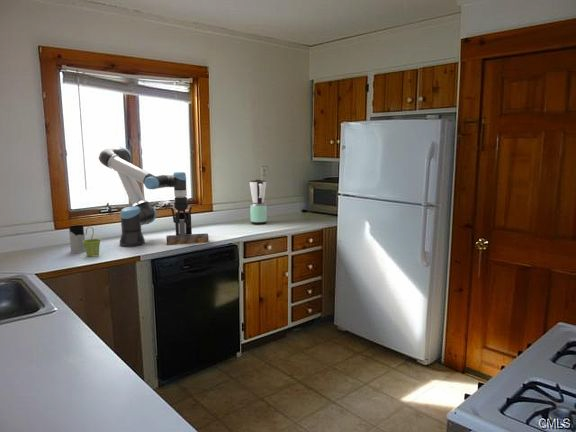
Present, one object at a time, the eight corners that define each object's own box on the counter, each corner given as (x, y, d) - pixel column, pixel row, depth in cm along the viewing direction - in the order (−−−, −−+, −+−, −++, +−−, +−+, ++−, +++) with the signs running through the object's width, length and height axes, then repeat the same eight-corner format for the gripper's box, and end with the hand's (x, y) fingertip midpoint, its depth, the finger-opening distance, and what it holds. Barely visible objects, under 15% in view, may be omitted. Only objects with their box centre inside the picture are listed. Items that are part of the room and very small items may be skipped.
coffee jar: (187, 238, 294) (186, 211, 292) (173, 237, 297) (171, 211, 294) (194, 235, 305) (193, 209, 302) (180, 234, 307) (178, 209, 304)
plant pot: (94, 258, 242) (93, 242, 241) (80, 257, 245) (78, 241, 244) (105, 254, 251) (104, 239, 250) (91, 253, 254) (90, 238, 252)
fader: (180, 238, 277) (179, 220, 276) (180, 236, 282) (179, 219, 281) (185, 238, 278) (184, 220, 276) (185, 236, 283) (184, 219, 281)
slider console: (166, 245, 274) (166, 238, 273) (166, 242, 283) (166, 235, 282) (208, 242, 280) (208, 235, 279) (207, 239, 289) (207, 233, 288)
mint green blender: (247, 222, 356) (246, 179, 350) (263, 221, 360) (262, 178, 355) (254, 226, 338) (253, 180, 333) (270, 225, 343) (270, 180, 337)
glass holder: (67, 251, 258) (65, 226, 256) (91, 247, 269) (89, 223, 266) (73, 253, 252) (71, 228, 250) (98, 249, 263) (96, 225, 261)
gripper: (167, 197, 271) (169, 235, 274) (194, 196, 275) (195, 233, 278) (167, 196, 278) (169, 232, 282) (193, 195, 282) (195, 231, 285)
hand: (182, 233), depth 280 cm, fingers closed on fader, 3 cm apart
